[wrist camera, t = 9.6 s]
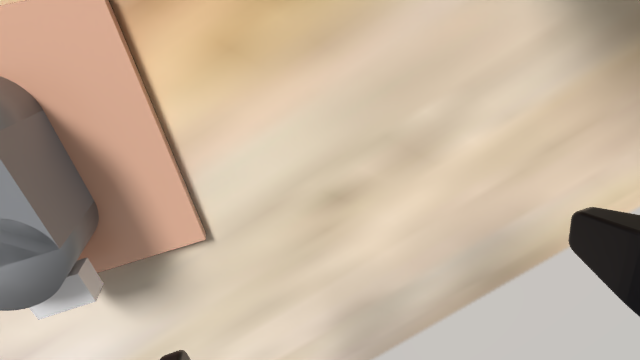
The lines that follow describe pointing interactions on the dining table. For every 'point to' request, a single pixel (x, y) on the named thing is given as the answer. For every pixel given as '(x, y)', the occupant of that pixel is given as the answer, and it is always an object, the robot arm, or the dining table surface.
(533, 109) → the dining table surface
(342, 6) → the dining table surface
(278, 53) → the dining table surface
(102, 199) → the plate
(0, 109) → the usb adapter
